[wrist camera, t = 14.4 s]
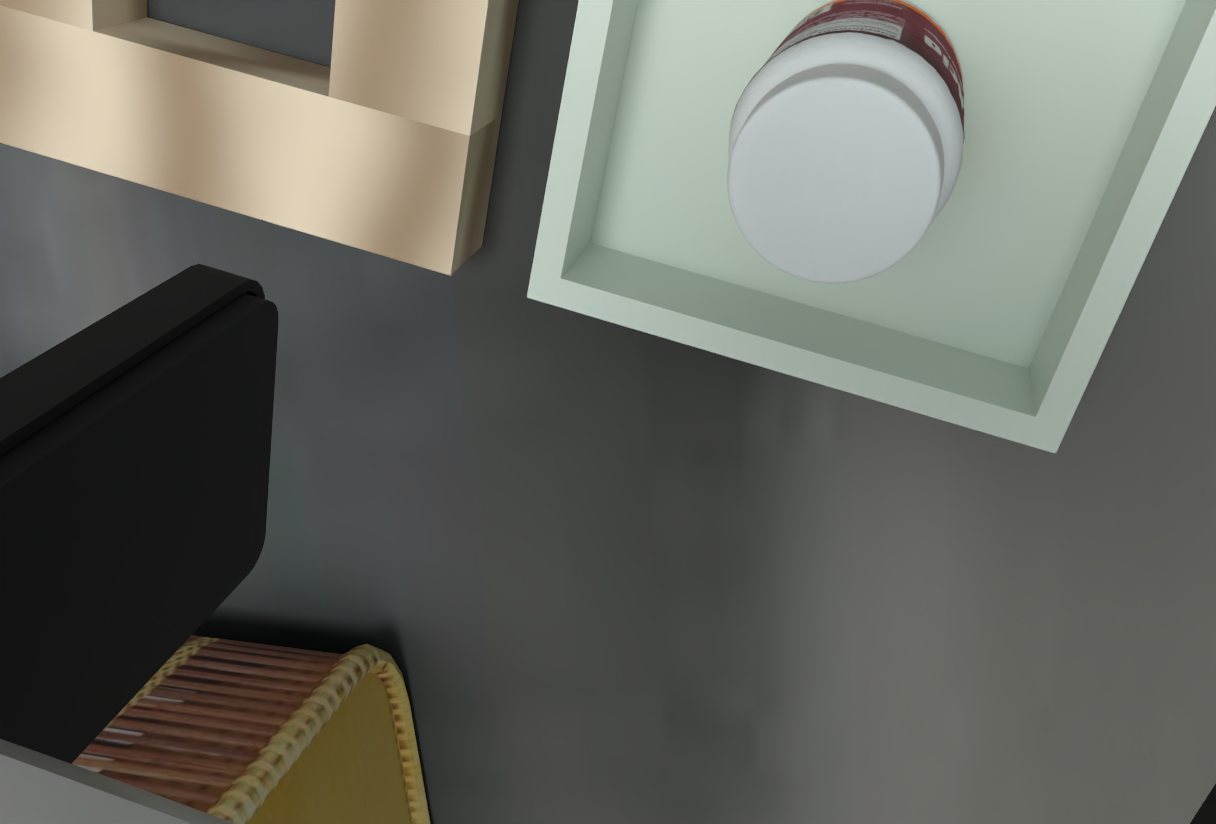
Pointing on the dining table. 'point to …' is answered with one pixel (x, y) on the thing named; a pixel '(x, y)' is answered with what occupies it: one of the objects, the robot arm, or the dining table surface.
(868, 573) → the dining table surface
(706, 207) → the tray
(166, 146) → the socket block
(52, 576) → the robot arm
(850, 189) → the pill bottle
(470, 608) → the dining table surface
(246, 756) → the picnic basket
